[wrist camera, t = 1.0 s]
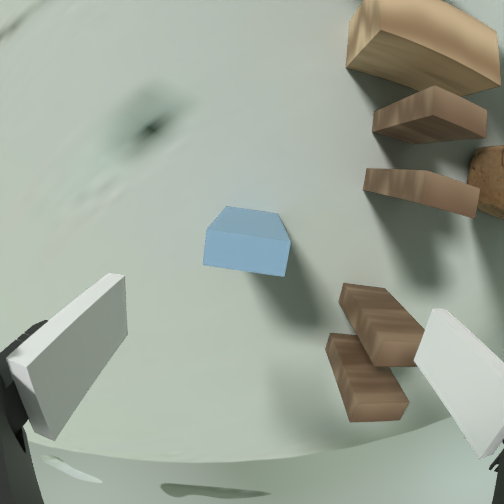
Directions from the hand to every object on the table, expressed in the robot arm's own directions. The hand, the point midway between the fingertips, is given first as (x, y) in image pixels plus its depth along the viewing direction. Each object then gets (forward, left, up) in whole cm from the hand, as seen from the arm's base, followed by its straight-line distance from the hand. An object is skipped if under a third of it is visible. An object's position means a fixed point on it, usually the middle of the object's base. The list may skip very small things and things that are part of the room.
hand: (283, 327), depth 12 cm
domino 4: (+5, +11, -19) cm, 23 cm away
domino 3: (-7, +11, -19) cm, 23 cm away
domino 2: (-13, +11, -19) cm, 26 cm away
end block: (-21, +11, -19) cm, 30 cm away
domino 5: (+11, +11, -19) cm, 25 cm away
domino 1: (-1, -2, -19) cm, 19 cm away
